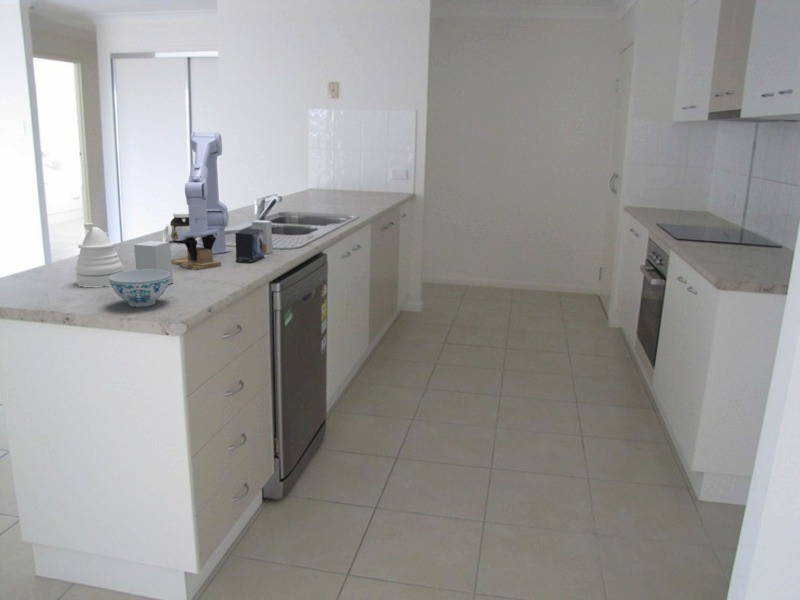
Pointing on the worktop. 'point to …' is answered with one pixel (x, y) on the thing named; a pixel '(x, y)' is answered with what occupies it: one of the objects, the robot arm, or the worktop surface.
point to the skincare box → (264, 234)
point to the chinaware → (140, 285)
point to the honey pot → (96, 259)
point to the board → (193, 266)
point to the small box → (249, 245)
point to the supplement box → (154, 256)
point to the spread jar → (177, 227)
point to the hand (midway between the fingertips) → (200, 258)
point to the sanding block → (202, 256)
